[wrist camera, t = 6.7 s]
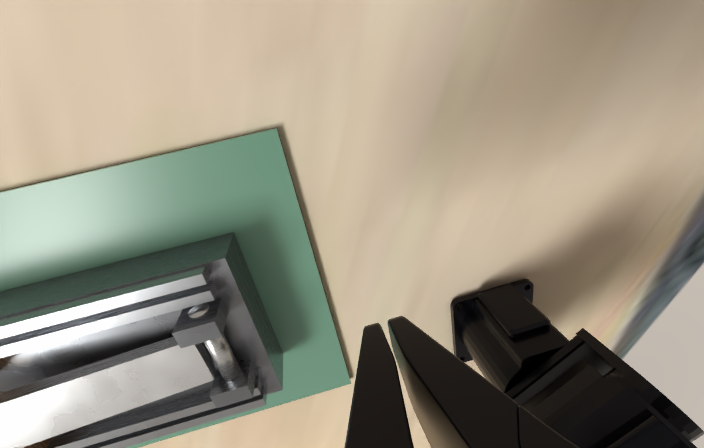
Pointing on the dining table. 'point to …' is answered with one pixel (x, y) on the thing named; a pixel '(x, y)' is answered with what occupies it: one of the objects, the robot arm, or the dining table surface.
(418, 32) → the dining table surface
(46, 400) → the grey flat long bar
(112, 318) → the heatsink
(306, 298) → the board
